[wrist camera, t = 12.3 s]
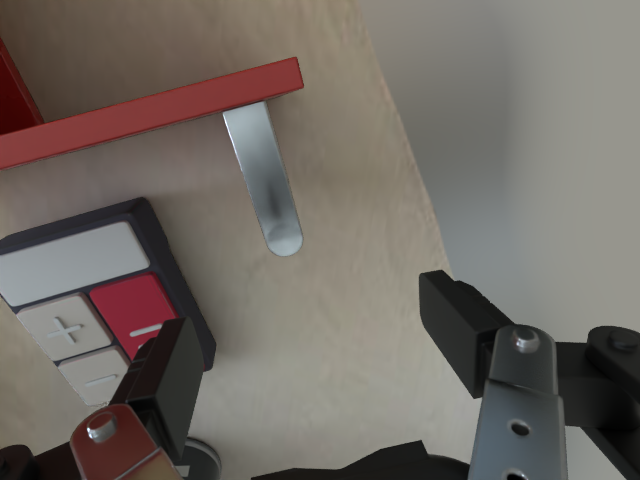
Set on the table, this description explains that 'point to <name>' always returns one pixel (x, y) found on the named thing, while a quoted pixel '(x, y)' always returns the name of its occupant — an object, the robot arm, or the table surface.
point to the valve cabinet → (14, 98)
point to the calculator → (97, 292)
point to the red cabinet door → (184, 105)
